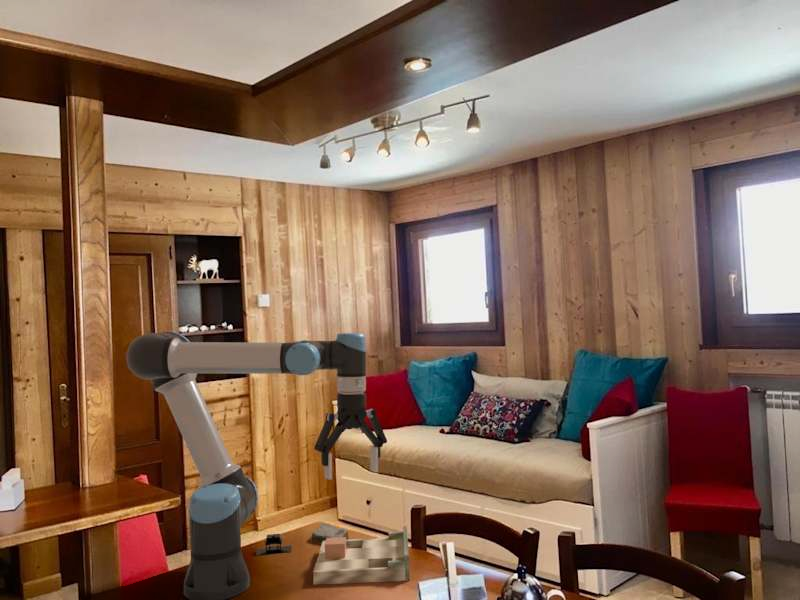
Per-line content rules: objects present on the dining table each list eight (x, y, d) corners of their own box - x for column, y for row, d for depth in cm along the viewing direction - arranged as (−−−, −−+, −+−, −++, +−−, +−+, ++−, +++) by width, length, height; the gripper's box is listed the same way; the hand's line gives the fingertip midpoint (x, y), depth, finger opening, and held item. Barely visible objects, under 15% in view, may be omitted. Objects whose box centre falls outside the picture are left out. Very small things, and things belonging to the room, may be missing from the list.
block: (325, 558, 165) (324, 544, 165) (327, 551, 170) (326, 537, 170) (345, 557, 165) (344, 543, 165) (346, 550, 170) (345, 537, 170)
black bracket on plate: (250, 559, 177) (249, 542, 177) (251, 549, 184) (251, 533, 184) (296, 554, 179) (296, 537, 179) (296, 545, 186) (296, 529, 186)
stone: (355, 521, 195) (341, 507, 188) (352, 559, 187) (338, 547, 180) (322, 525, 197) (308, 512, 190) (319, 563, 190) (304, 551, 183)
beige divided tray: (313, 584, 156) (312, 559, 157) (323, 551, 178) (322, 529, 179) (409, 580, 157) (408, 555, 157) (407, 548, 179) (406, 526, 179)
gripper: (314, 397, 160) (314, 484, 159) (399, 390, 174) (399, 471, 173) (301, 394, 166) (301, 478, 166) (384, 388, 180) (384, 465, 179)
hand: (351, 474), depth 169 cm, fingers open, 13 cm apart
